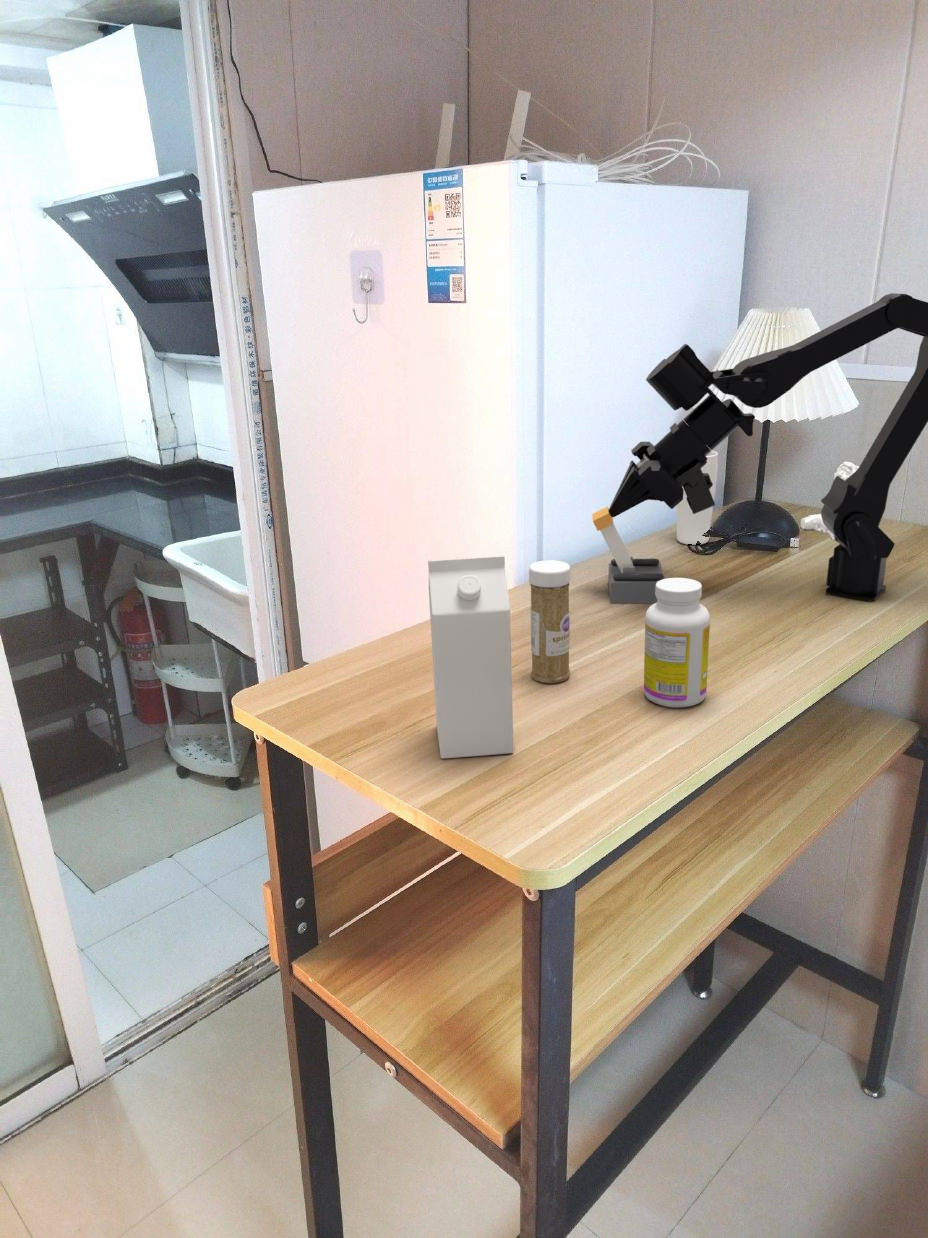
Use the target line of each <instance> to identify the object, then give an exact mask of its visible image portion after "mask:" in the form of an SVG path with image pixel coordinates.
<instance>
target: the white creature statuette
mask: <svg viewBox="0 0 928 1238" xmlns="http://www.w3.org/2000/svg"><path fill="white" fill-rule="evenodd" d="M859 467H860V465H856V464H854V463H853V462H851V461H843V462H842V463H841V464H840V465H839V466H838V467H837V469H836V472H834V473H833V474H834V476H833V480H832V482H833V481H834V479H835V477H836V476H839V477H841V478H842V479H843V480H846V479H847V478H849V477H850V476H851V475H852V474H853V473H854V472H856V471H857V469H858V468H859ZM800 528H802V530H805V531H806V530H807V531H813V530H814V531H817V532H820V533H822V534H825V533H827V535H829V536H830V538H831V539H832V540H833V541H835V538H834V535H833V534H832V533H831V532H830V531H829V530H828V529H827V527H826V526H825V525H824V523H823V520H822V516H821V513H817V514H809V515H807V516H806V517H802V518H801V519H800Z"/></svg>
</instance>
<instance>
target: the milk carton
mask: <svg viewBox="0 0 928 1238" xmlns="http://www.w3.org/2000/svg"><path fill="white" fill-rule="evenodd" d="M427 563H428V564H427V565H428V566H427V567H428V598H429V599H428V600H429V613H430V614H429V617H430V620H429V621H430V632H431V634H430V635H431V652H432V667H433V669H432V670H433V671H432V672H433V686H434V703H435V705H434V707H435V719H436V722H435V723H436V728H437V729H436V730H437V739H438V746H439V755H440V758H441V759H453V758H454V759H455V758H466V757H467V758H468V757H479V756H480V757H481V756H493V755H505V754H507V755H508V754H513V753H514V720H513V719H514V718H513V717H514V715H513V711H514V710H513V678H512V676H513V675H512V674H513V673H512V672H513V671H512V669H513V668H512V637H511V636H512V635H511V633H512V631H511V628H512V627H511V626H512V625H511V624H512V623H511V605H510V597H509V589H508V581H507V574H506V569H505V568H506V567H505V566H506V565H505V563H506V561H505V556H504V555H497V556H496V555H495V556H481V557H465V558H464V557H463V558H451V559H450V558H449V559H436V560H434V559H433V560H432V559H431V560H428V562H427Z"/></svg>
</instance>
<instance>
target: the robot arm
mask: <svg viewBox="0 0 928 1238" xmlns="http://www.w3.org/2000/svg"><path fill="white" fill-rule="evenodd" d="M896 329H899V330H903V331H905V332H908V333H911V334H915V335H917V336H921V337H922V339H921V342H920V344H919V349H918V354H917V360H916V366H915V370H914V372H913V374H912V376H911V377H910V379H909V381H908V383H907V384H906V386H905V388H904V389H903V391H902V393H901V394H900V396H899V398H898V400H897V402H896V403H895V405H894V407H893V409H892V410H891V412H890V414H889V416H888V417H887V419H886V420H885V422H884V424H883V425H882V427H881V429H880V430H879V432H878V434H877V436H876V438H875V439H874V441H873V443H872V444H871V446H870V448H869V449H868V451H867V453H866V455H865V457H864V458H863V459H862V461H861V463H860V465H859V468H858V469H857V471H856V472H854V473H853V474H852V475H851V476H850V477H849V478H847V479H846V480H843V479H842V478H841V477H839V476H836V477H835V479H834V478H833V480H834V481H833V480H832V484H831V487H830V490H829V491H828V493H827V494H826V495H825V496H824V497H823V498H821V500H820V503H822V504H823V506H822V509H821V511H820V512H821V513H820V514H821V516H822V520H823V523H824V525H825V526H826V527H827V529H828V530H829V531H830V532H831V533H832V534H833V535H834V538H835V540H834V541H835V542H836V543H839V544H838V545H837V546H836V547H834V548H833V555H831V557H829V558H828V565H827V574H826V583H825V584H826V586H827V588H826V589H825V594H827V595H832V596H839V597H845V598H851V599H857V600H860V601H861V600H863V601H867V602H868V601H869V602H874V601H875V600H877V599H878V598H879V597H880V596H881V595H882V594H883V593H884V592H885V591H886V589H887V585H886V584H884V582H885V581H884V580H885V574H886V573H885V572H886V566H887V559H888V558H889V557H890V555H891V553H892V551H893V549H894V548H895V542H894V541H893V540H892V539H891V538H890V537H889V536H888V535H887V534H886V533H885V532H884V531H883V530H882V529H881V528H880V527H879V526H880V524H881V521H882V519H883V517H884V513H885V511H886V507H887V502H888V495H889V491H890V487H891V484H892V482H893V480H894V478H895V477H896V476H897V474H898V472H899V470H900V468H901V467H902V465H903V464H904V462H905V461H906V459H907V457H908V455H909V454H910V452H911V451H912V449H913V447H914V445H915V444H916V443H917V441H918V439H919V437H920V436H921V435H922V433H923V431H924V429H925V427H926V425H927V424H928V302H927V301H924V300H921V299H918V298H916V297H915V298H914V297H913V296H911V295H909V294H907V293H896V292H895V293H894V292H891V293H887V294H885V295H884V296H882V297H880V298H879V300H877V301H876V302H874V303H872V304H870V305H868V306H866V307H864V308H862V309H861V310H858V311H857V312H854V313H852V314H851V315H849V316H847V317H845V318H843V319H841V320H839V321H837V322H836V323H833V324H832V325H829V326H828V327H826V328H824V329H822V330H820V331H818V332H815V333H814V334H812V335H810V336H808V337H807V338H804V339H803V340H801V341H798V342H797V343H795V344H792V345H789V346H786V347H783V348H779V349H775V350H770V351H767V352H764V353H761V354H758V355H755V356H752V357H749V358H745V359H744V360H741V361H740V362H738V363H737V364H735V366H734V367H733V368H727V369H721V370H719V369H716V370H715V371H711V370H710V369H709V368H708V367H707V366H706V365H705V364H704V363H703V362H702V361H701V360H700V359H699V358H698V356H697V355H696V353H695V350H694V349H692V347H691V346H690V345H688V344H687V343H684V344H683V345H682V346H681V347H680V348H679V349H677V350H676V351H674V352H673V353H672V354H670V355H669V356H668V357H667V358H663V359H662V360H661V361H660V362H659V363H658V364H657V365H656V366H655V367H654V368H653V370H652V371H650V373H648V375H647V377H646V378H645V381H646V382H647V383H648V384H649V385H650V387H652V388H653V390H654V391H655V392H657V394H658V395H659V396H660V397H661V398H662V399H663V400H664V401H665V403H667V404H668V405H669V407H670V408H671V409H672V410H673V411H677V410H679V409H681V408H682V409H683V410H684V411H685V412H687V411H689V410H690V409H692V408H693V407H694V408H693V410H691V412H689V413H688V414H687V415H686V416H685V417H684V418H683V419H681V421H679V422H678V423H676V422H674V423H673V424H672V425H670V427H669V429H670V431H669V432H668V433H667V434H665V435H664V436H663V437H662V438H661V439H660V440H659V441H658V442H657V443H656V444H655V445H654V444H653V443H652V442H651V441H640V442H638V443H637V445H635V446H634V447H633V448H631V450H630V451H631V454H632V455H633V456H634V457H637V459H639V461H638V462H637V463H636V462H634V461H633V460H631V461H630V462H629V465H628V468H627V470H626V472H625V474H624V477H623V479H622V480H621V482H620V485H619V487H618V488H617V491H616V493H615V495H614V498H613V499H612V502H611V503H610V506H609V507H608V508H609V510H608V511H609V513H610V515H611V516H612V517H613V518H616V517H617V516H619V515H621V514H623V513H625V512H626V511H629V510H630V509H632V508H634V507H637V506H638V505H639V504H641V503H644V502H646V501H649V500H650V501H659V502H664V504H665V505H667V507H669V508H670V509H671V510H673V509H675V508H676V505H677V504H679V503H680V502H681V501H682V500H683V491H684V490H685V493H686V495H687V498H686V499H687V502H688V504H689V506H690V509H691V510H692V512H693V514H696V513H698V512H700V511H703V510H705V509H708V508H710V507H712V506H713V507H715V506H716V503H715V499H714V500H713V498H712V495H711V493H710V490H709V489H710V488H711V487H712V485H713V483H712V482H711V479H710V476H709V474H708V473H702V471H701V468H702V467H703V466H704V465H705V464H706V463H707V461H706V460H707V457H706V456H707V455H708V454H709V453H710V452H711V450H712V451H714V449H716V448H717V447H718V446H719V445H720V444H721V443H722V442H724V440H725V439H727V438H728V437H729V436H730V435H732V433H733V432H734V431H735V430H736V429H738V428H739V429H740V430H741V431H742V432H743V433H744V434H745V435H746V436H747V437H750V438H751V437H752V436H753V435H754V432H753V431H754V430H753V429H754V421H755V419H756V416H755V415H754V414H753V413H752V412H749V413H744V412H743V410H742V409H741V408H740V407H739V406H738V405H737V404H736V403H735V402H734V401H733V400H732V399H731V398H727V399H725V400H723V401H722V400H721V399H720V398H719V397H718V396H717V395H716V394H715V393H714V392H713V390H712V389H710V387H711V386H714V387H715V388H716V389H717V390H719V391H720V392H721V393H722V394H724V395H729V396H733V397H734V398H736V399H737V400H738V401H739V402H741V403H742V404H744V405H745V406H746V407H750V408H753V409H754V408H755V409H759V408H760V409H761V408H764V407H767V406H769V405H771V404H772V403H773V402H774V403H775V402H776V400H778V399H779V398H781V397H782V396H783V395H785V394H786V393H788V392H789V391H790V390H791V389H793V387H795V385H797V384H798V383H800V381H801V380H802V379H803V378H805V377H806V376H807V375H809V374H810V373H812V372H814V371H817V369H819V368H821V367H823V366H825V365H827V364H830V363H831V362H833V361H835V360H837V359H839V358H841V357H844V356H845V355H847V354H849V353H851V352H853V351H855V350H857V349H859V348H860V347H861V348H862V347H863V346H865V345H867V344H869V343H871V342H873V341H875V340H877V339H878V338H881V337H883V336H884V335H887V334H889V333H891V332H892V331H894V330H896ZM707 394H708V396H707V397H706V398H704V397H705V396H706V395H707ZM703 398H704V399H703ZM700 401H701V402H700ZM699 402H700V403H699ZM698 403H699V404H698ZM697 404H698V405H697ZM696 405H697V406H696ZM695 406H696V407H695ZM682 486H683V488H684V490H683V488H682Z"/></svg>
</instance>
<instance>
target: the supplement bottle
mask: <svg viewBox="0 0 928 1238" xmlns="http://www.w3.org/2000/svg"><path fill="white" fill-rule="evenodd" d="M655 595H656V598H657V603H652V604H651V605H650V606H649V607H648V608H647V611H646V612H645V617H644V659H643V660H644V665H643V666H644V668H643V692H644V696H645V697H646V698H647V699H648V700H649V701H650V702H651V703H654V704H657V705H660V706H662V707H667V708H672V709H673V708H677V709H678V708H688V707H693V706H696V705H698V704H700V703H701V702H702V701H703V700H704V699H705V697H706V695H707V689H708V686H707V685H708V668H709V646H710V644H709V643H710V631H711V630H710V628H711V616H710V612H709V611H708V609H707V608H706V607H705V605H703V604H701V603H700V600H701V598H702V595H703V586H702V583H701V582H700V581H698V580H695V579H692V578H687V577H669V578H665V579H663V580H660V581H658V582H657V583H656V590H655Z"/></svg>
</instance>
